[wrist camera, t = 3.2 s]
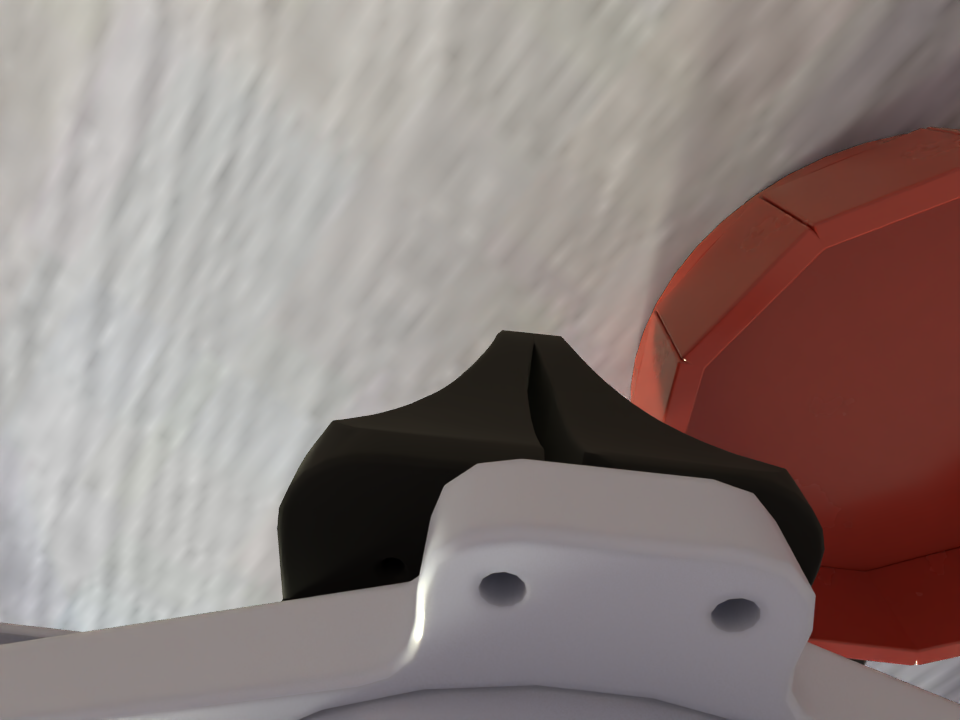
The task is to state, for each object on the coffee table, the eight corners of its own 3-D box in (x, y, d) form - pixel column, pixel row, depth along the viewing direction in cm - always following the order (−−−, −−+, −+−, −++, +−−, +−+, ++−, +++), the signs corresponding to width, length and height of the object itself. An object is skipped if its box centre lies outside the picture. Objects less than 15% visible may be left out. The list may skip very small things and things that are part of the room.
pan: (692, 101, 12) (743, 115, 9) (1279, 159, 12) (1508, 192, 9) (561, 681, 19) (568, 782, 17) (913, 721, 19) (976, 830, 16)
